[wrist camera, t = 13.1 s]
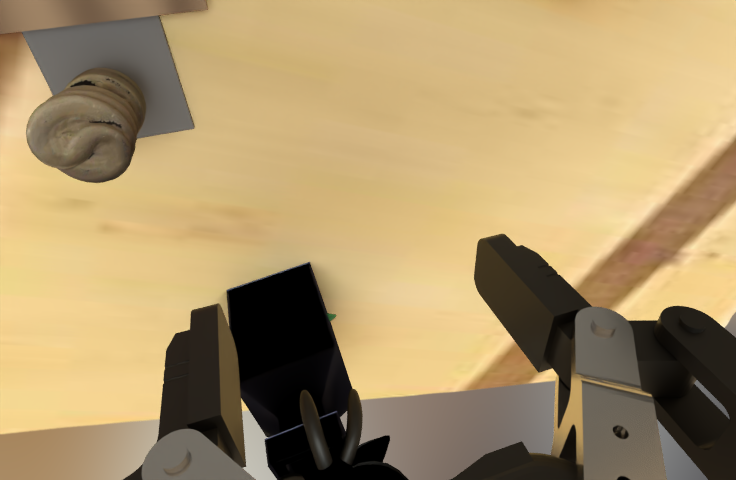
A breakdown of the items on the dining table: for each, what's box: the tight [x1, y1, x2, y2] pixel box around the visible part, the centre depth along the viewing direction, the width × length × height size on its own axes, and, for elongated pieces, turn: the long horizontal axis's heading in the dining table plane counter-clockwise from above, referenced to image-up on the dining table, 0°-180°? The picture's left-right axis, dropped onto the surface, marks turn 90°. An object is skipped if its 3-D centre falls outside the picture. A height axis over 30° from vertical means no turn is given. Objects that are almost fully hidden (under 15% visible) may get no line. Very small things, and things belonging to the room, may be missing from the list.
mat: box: [22, 15, 194, 138], centre depth 37 cm, size 10×10×1 cm
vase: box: [227, 262, 408, 480], centre depth 44 cm, size 14×12×35 cm
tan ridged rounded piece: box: [26, 68, 146, 183], centre depth 31 cm, size 6×6×15 cm
